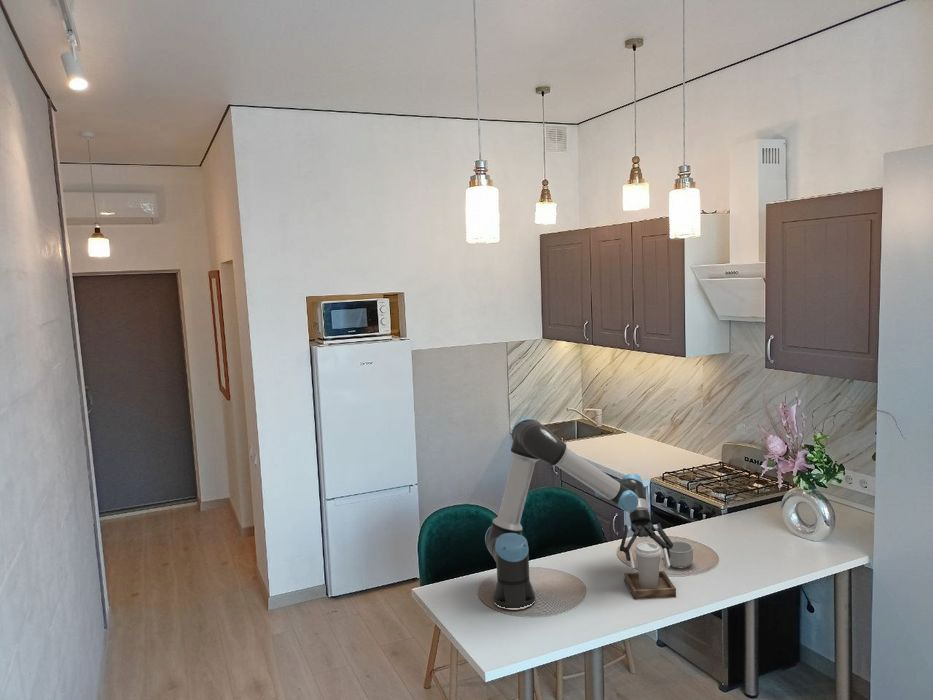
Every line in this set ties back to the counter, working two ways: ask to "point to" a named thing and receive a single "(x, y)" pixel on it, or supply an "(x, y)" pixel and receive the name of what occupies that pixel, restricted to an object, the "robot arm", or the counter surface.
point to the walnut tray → (662, 591)
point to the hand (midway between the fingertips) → (650, 568)
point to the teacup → (681, 554)
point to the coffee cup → (648, 564)
